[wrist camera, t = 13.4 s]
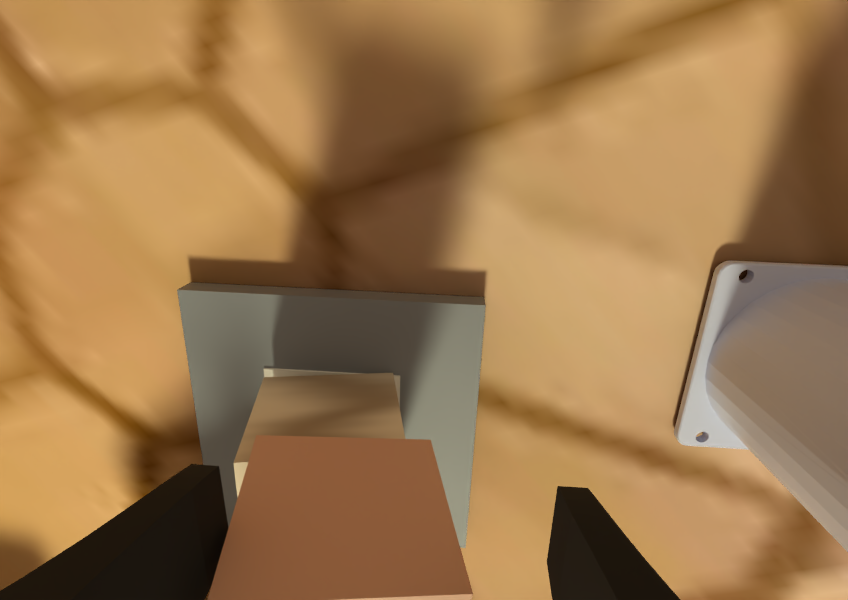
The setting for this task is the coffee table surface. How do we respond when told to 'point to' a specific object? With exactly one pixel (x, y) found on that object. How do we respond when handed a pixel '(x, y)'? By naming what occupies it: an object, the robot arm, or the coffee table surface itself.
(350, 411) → the birch block
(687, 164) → the coffee table surface
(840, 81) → the coffee table surface
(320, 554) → the terracotta block
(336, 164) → the coffee table surface
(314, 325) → the baseplate
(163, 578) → the robot arm
